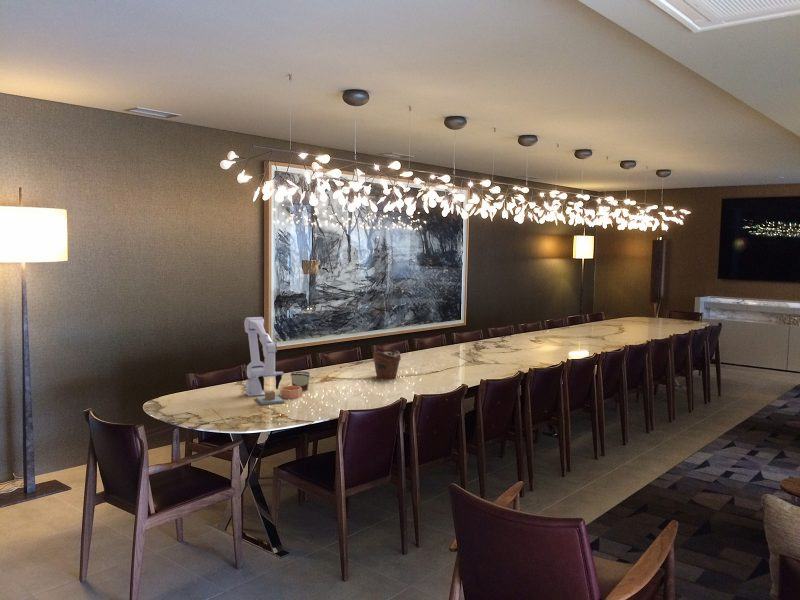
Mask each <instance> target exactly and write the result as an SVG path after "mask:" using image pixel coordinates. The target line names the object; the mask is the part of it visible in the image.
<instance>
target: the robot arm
mask: <svg viewBox="0 0 800 600" xmlns="http://www.w3.org/2000/svg"><path fill="white" fill-rule="evenodd" d="M243 323H244V325H243V326H244V332H245V333H247V336H248V345H249V354H250V362H249V363H248V364H247V365H246V375H247V378H248V379H246V380H245V394H246V396H247V397H253V396H263V395H264V396H265V392H264V391H265V378H267V377H275V390H279V386H280V383H281V380H282V378H283V376H284V371H276V354H277V352H278V345H277V343H276V342H274V341H273V340H272V338H271V336H270V334H269V333H266V329H265V328H264V325H265V320H264V317H263V316H253V317H249V316H247V317H245V319H244V321H243ZM258 336H259V339H258ZM259 341H260V343H261V345H262V353H263V357H264V362H263V361H261V358H260V350H259Z"/></svg>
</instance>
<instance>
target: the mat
mask: <svg viewBox="0 0 800 600" xmlns="http://www.w3.org/2000/svg"><path fill="white" fill-rule="evenodd" d="M253 400H254V402H256V404H258V405H259V406H269V405H281V404H287V403H286V401H285V400H284V402H280V403H269V404H261V403H260V402H259V401H258V400H257V399H256V398H253Z"/></svg>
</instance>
